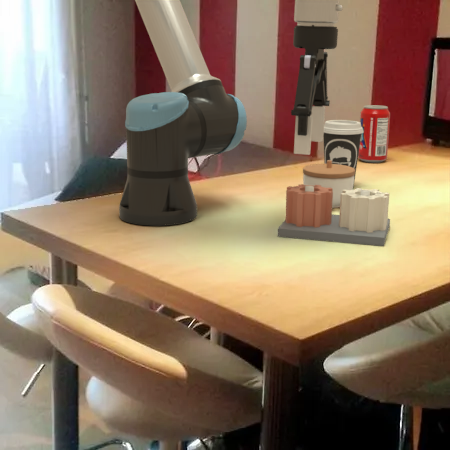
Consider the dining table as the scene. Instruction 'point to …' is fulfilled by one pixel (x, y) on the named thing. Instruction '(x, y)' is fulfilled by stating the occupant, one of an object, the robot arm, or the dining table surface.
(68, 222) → the dining table surface
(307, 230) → the gear board
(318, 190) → the gear
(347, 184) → the lidded jar
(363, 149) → the soda can
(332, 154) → the coffee cup
